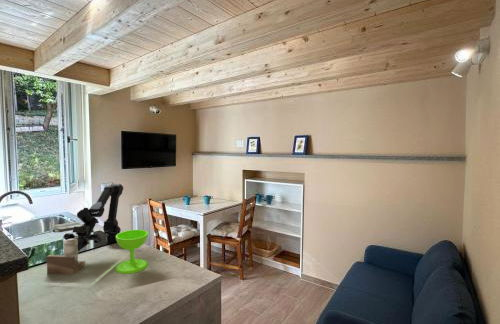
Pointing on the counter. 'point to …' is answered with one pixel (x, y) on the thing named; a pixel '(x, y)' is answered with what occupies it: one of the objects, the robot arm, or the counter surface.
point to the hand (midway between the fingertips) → (75, 253)
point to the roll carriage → (72, 249)
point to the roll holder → (62, 265)
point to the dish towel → (65, 226)
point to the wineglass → (131, 250)
